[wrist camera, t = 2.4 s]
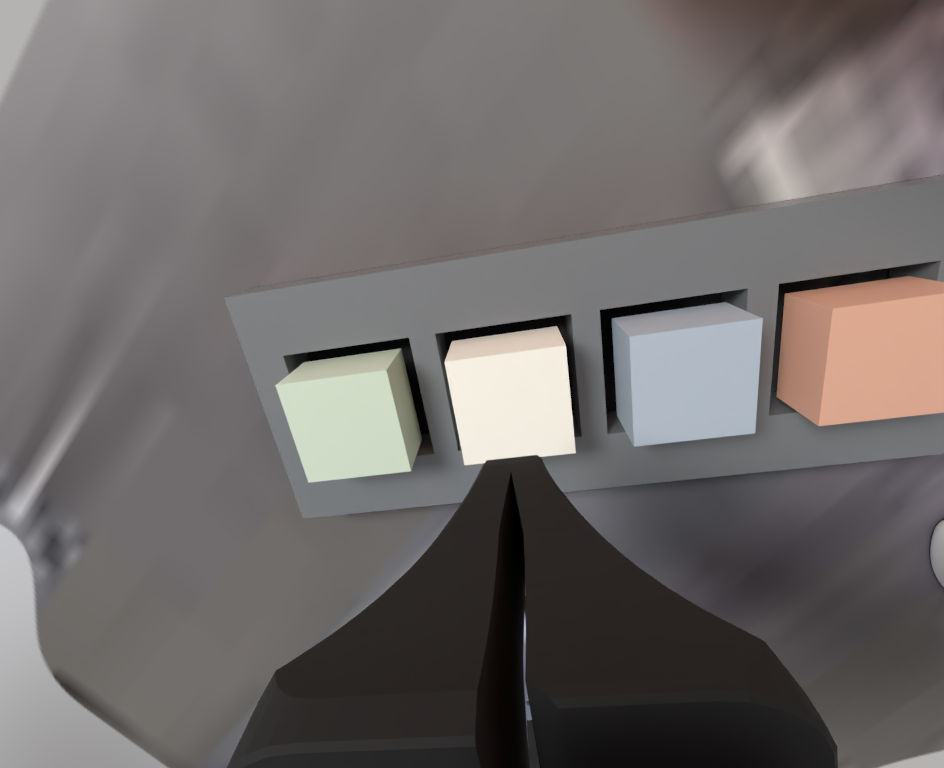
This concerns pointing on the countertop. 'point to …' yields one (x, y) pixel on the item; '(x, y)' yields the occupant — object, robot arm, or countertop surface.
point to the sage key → (352, 415)
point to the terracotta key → (864, 351)
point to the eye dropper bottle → (938, 552)
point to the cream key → (511, 395)
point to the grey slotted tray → (580, 299)
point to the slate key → (687, 373)
